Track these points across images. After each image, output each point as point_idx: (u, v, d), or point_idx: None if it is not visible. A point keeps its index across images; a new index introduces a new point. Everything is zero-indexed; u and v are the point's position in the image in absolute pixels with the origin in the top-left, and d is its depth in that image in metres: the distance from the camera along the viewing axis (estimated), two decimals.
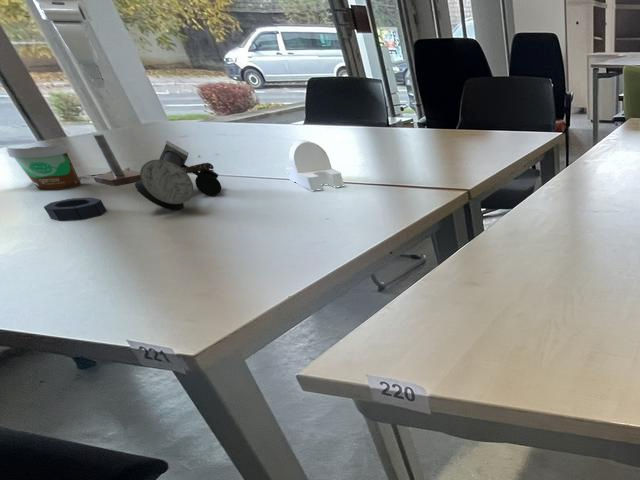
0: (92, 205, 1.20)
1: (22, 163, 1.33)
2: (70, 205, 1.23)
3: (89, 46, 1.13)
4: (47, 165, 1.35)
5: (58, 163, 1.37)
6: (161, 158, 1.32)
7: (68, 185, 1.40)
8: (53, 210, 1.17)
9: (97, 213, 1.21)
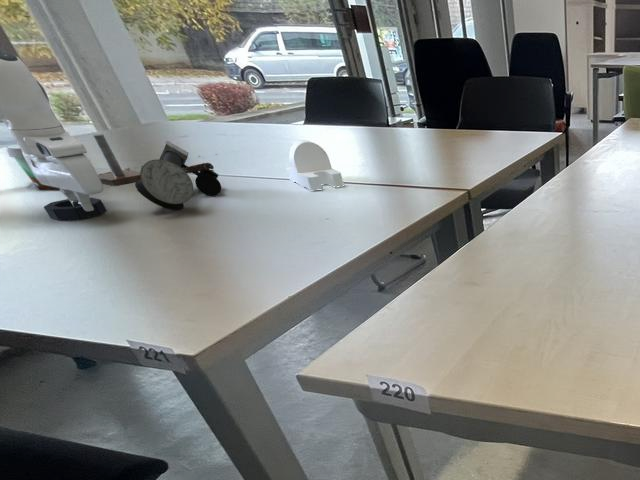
0: (92, 205, 1.20)
1: (22, 163, 1.33)
2: (70, 205, 1.23)
3: (97, 176, 1.13)
4: None
5: None
6: (161, 158, 1.32)
7: None
8: (53, 210, 1.17)
9: (97, 213, 1.21)
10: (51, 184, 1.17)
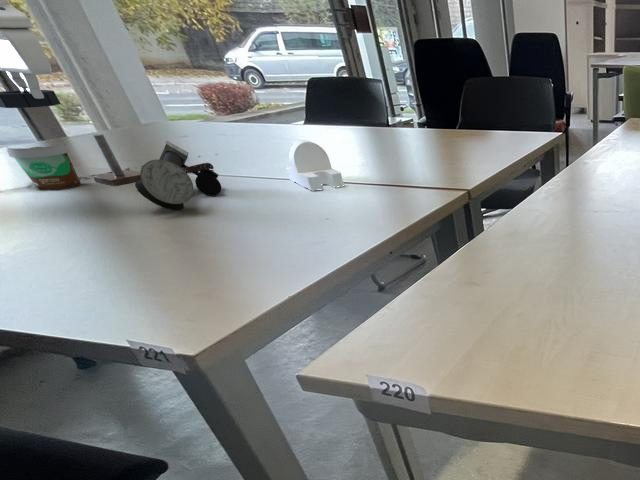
0: None
1: (22, 163, 1.33)
2: None
3: (45, 55, 1.05)
4: (47, 165, 1.35)
5: (58, 163, 1.37)
6: (161, 158, 1.32)
7: (68, 185, 1.40)
8: None
9: (48, 103, 1.13)
10: None
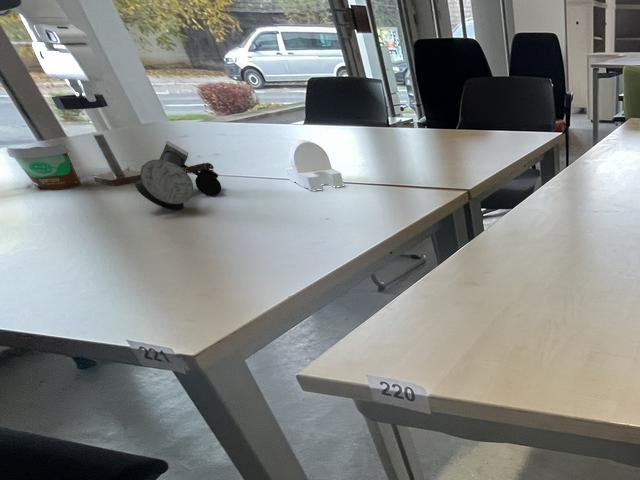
0: None
1: (22, 163, 1.33)
2: None
3: (99, 65, 1.26)
4: (47, 165, 1.35)
5: (58, 163, 1.37)
6: (161, 158, 1.32)
7: (68, 185, 1.40)
8: (60, 99, 1.30)
9: (99, 105, 1.35)
10: (58, 75, 1.30)
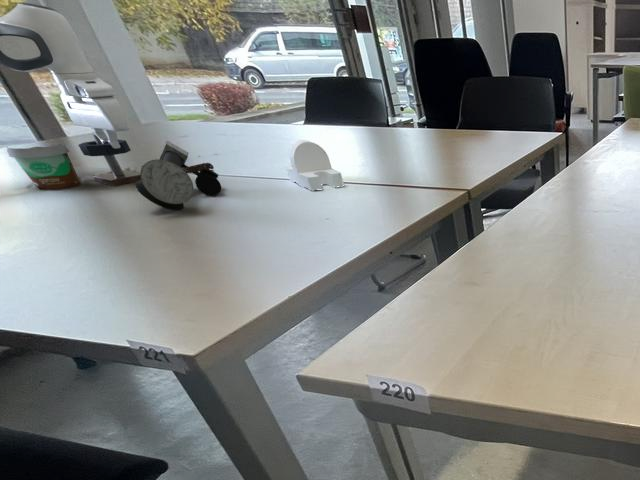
0: (119, 143, 1.40)
1: (22, 163, 1.33)
2: None
3: (124, 116, 1.33)
4: (47, 165, 1.35)
5: (58, 163, 1.37)
6: (161, 158, 1.32)
7: (68, 185, 1.40)
8: (86, 146, 1.37)
9: (123, 151, 1.42)
10: (84, 124, 1.37)
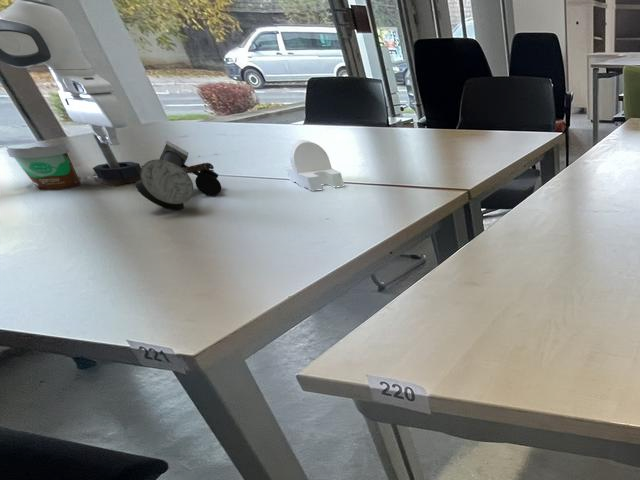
0: (132, 167, 1.44)
1: (22, 163, 1.33)
2: None
3: None
4: (47, 165, 1.35)
5: (58, 163, 1.37)
6: (161, 158, 1.32)
7: (68, 185, 1.40)
8: (101, 170, 1.40)
9: (136, 174, 1.45)
10: (82, 121, 1.36)
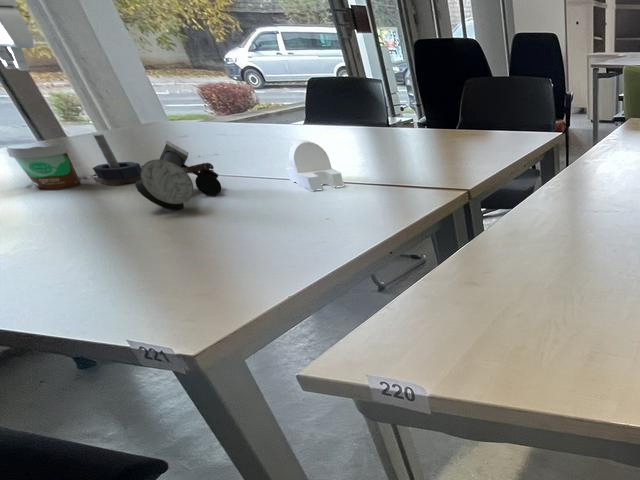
0: (132, 167, 1.44)
1: (22, 163, 1.33)
2: None
3: (28, 31, 1.18)
4: (47, 165, 1.35)
5: (58, 163, 1.37)
6: (161, 158, 1.32)
7: (68, 185, 1.40)
8: (101, 170, 1.40)
9: (136, 174, 1.45)
10: None
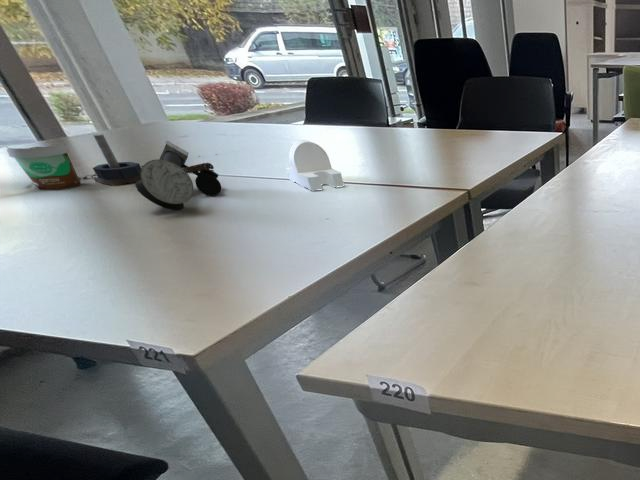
0: (132, 167, 1.44)
1: (22, 163, 1.33)
2: None
3: None
4: (47, 165, 1.35)
5: (58, 163, 1.37)
6: (161, 158, 1.32)
7: (68, 185, 1.40)
8: (101, 170, 1.40)
9: (136, 174, 1.45)
10: None
